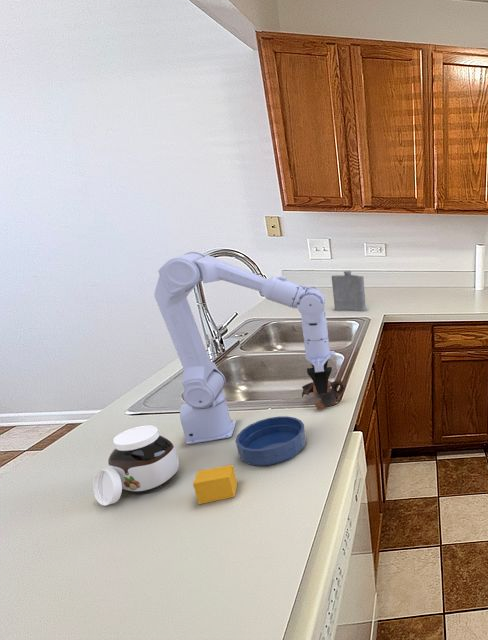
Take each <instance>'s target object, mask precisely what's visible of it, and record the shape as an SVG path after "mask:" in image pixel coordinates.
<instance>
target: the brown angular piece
mask: <svg viewBox="0 0 488 640" xmlns="http://www.w3.org/2000/svg"><path fill="white" fill-rule="evenodd" d="M338 386H340V388H339V390H338V389H337V388H338ZM301 388H302V392H301V397H302V398H304V396H309V395H310V394H311V393H313V394H314V395H316V396H318V397H319V399H320V400H319V401H317V402H315V403H314V407H315V409H316V410H317V411H320V410H323V409H326V408H329V407H332V406H335V405H336V404H337V400H338V399H339V397H340V396H342V395H343V394H344V393H345V391H346V384H345V382H344V381H343V380H335V381H330V380H328V389H327V393H323V394H318V393H317V390H316V388H315V385H314V382H313V381H312V382H309V383H307V384H303V386H301Z"/></svg>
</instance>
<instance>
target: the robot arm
mask: <svg viewBox="0 0 488 640" xmlns="http://www.w3.org/2000/svg"><path fill="white" fill-rule="evenodd" d="M157 272H158V279H157V282H156V286H155V289H154V299H155V301H156V303H157V306H158V308H159V311H160V314H161V316H162V318H163V321H164V323H165V326H166V329H167V331H168V333H169V336H170V338H171V340H172V343H173V346H174V349H175V351H176V354H177V356H178V359H179V361H180V364H181V366H182V369H183V373H182V379H181V384H182V386H183V392H182V399H183V400H184V402H185V403H183V404H182V405H181V406H180V410H179V419H180V424H181V427H182V430H183V431H182V432H183V434H184V438H185V445H192V444H193V445H194V444H199V443H206V442H212V441H217V440H223V439H229V438H231V437H232V436H233V434H234V430H235V427H236V424H237V420H236V419H233V420H232V419H231V415H230V411H229V405H228V401H227V397H226V394H225V393H224V391H223V388H224V387H225V386H226V377H225V375H224V374H223V372H221V371H220V370H219V369H218V367H217V365H216V363H215V362H214V361H211V360H210V357H209V356H208V352H207V350H206V347H205V345H204V342H203V339H202V335H201V333H200V331H199V327H198V325H197V322H196V320H195V316H194V314H193V312H192V309H191V306H190V303H189V300H188V296H189V295H190V294H191V292H192V291H193V289H195V287H196V286H197V285H198V284H200V283H201V282H202V283H203V284H208V283H214V282H219V281H223V282H227V283H230V284H233V285H237V286H241V287H244V288H248V289H251V290H254V291H257V292H260V293H261V294H262V295H263V296H264V299H266V300H267V301H271V302H274V303H276V304H280V305H283V306H286V307H288V308H292V309H297V310H298V312H299V313H300V315H301V328H302V336H303V344H304V352H305V354H304V358H305V360H306V361H307V362H309V363H310V365H311V367H307V368H306V372H307V375H308V376H309V378H310V379H311V380H312V382H314V385H315V388H316V390H317V393H318V394H323V393H327V389H328V381H329V379H330V375H331V374H332V371H333V368H332V366H328V363H329V360H330V358H331V357H334V356H336V351H335V350H331V348H330V338H329V331H328V321H327V318H326V316H327V315H326V311H325V304H326V297H325V294H324V293H323V291H322V290H320V289H319V288H316V287H315V286H308V285H307V284H302V285H301V284H298V283H296V282H293V281H290V280H288V279H287V277H286V276H284V275H279V276H277V275H273V276H271V277H267V278H266V277H264V276H261V275H259V274H257V273H254V272H251V271H249V270H247V269H244V268H241V267H240V266H237V265H234V264H232V263H229V262H227V261H224V260H222V259H219V258H217V257H215V256H212V255H205V254H203V253H201V252H198V251H189V252H186V253H184V254H183V255H180V256H177V257H173V258H170V259H169V260H167V261H166V262H165V263H164V264H162V266H161V267H160V268H159V269H158V271H157Z"/></svg>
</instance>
